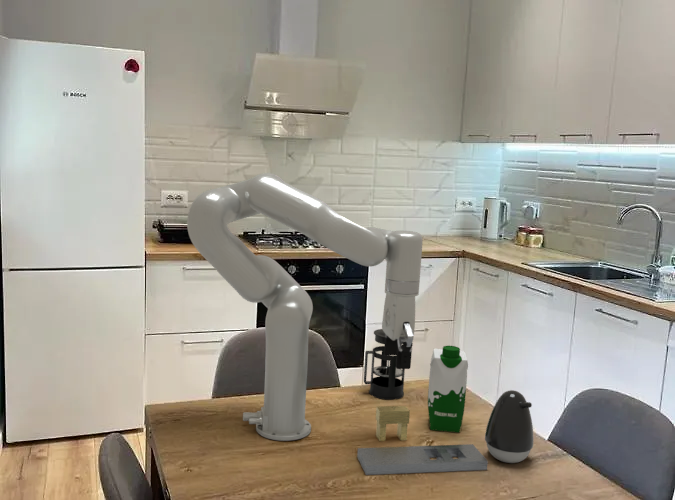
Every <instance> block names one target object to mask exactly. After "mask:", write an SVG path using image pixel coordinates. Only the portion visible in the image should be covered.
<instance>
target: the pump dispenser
mask: <svg viewBox="0 0 675 500" xmlns="http://www.w3.org/2000/svg"><path fill="white" fill-rule="evenodd" d="M532 406H533V404H532V402H529V401H528V402H527V400H526V397H525V396H524V395H523V394H522V393H521V392H520V391H517V390H512V389H510V390H507V391H504V392H503V393H502V394H501V395H500V396H499V397H498V399H497V400H496V402H495V404H494V406H493V408H492V410H491V412H490V414H489V415H490V416H489V418H488V421H487V425H486V429H485V434H484V440H485V442H486V447H487V450H488V451H489V454H490V455H491V456H492V457H494V458H495V459H497V460H499V461H500V462H502V463H506V464H507V463H509V464H516V463H519V462H520V463H521V462H522V461H525V459H527V457H528V456H529V455H530V453H531V450H532V449H533V447H534V424H533V421H532V415H531V410H530V408H532Z"/></svg>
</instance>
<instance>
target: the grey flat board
mask: <svg viewBox="0 0 675 500" xmlns="http://www.w3.org/2000/svg"><path fill="white" fill-rule="evenodd" d="M356 456H357V457H356V458H357V459H358V462H359V464H360V466H361V468H362V469H363V472H364V475H365V476H372V475H373V476H376V475H394V474H395V475H398V474H420V473H421V474H423V473H425V474H426V473H438V472H439V473H445V472H464V471H465V472H469V471H472V472H473V471H487V470H488V463H489V462H488V461H489V460H488V459H487V458H486V457H485V456H484V455H483V454H482V452H481V451H480V450H479V449H478V448H477V447H476V446H475V445H474V444H471V443H470V444H469V443H468V444H447V445H446V444H444V445H443V444H442V445H418V446H417V445H416V446H415V445H413V446H409V445H408V446H390V447H389V446H388V447H387V446H384V447H381V446H379V447H357V454H356ZM454 457H457V458H454ZM431 458H433V459H431ZM435 458H436V459H435Z"/></svg>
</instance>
